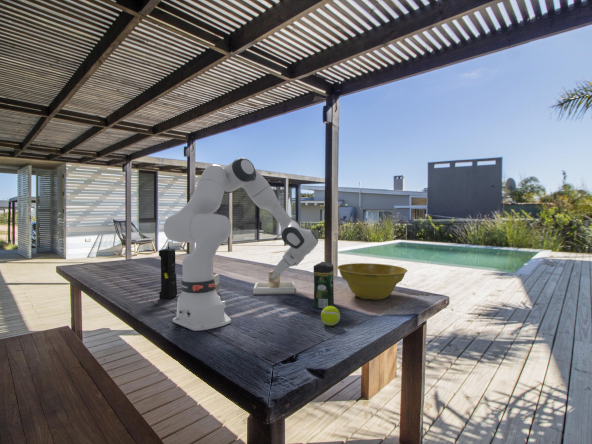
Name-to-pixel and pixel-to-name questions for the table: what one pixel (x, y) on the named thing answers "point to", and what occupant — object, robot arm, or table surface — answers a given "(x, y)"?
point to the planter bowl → (371, 279)
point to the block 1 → (216, 282)
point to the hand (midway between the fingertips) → (274, 275)
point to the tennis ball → (330, 315)
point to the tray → (283, 289)
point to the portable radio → (168, 274)
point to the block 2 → (274, 280)
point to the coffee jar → (323, 285)
